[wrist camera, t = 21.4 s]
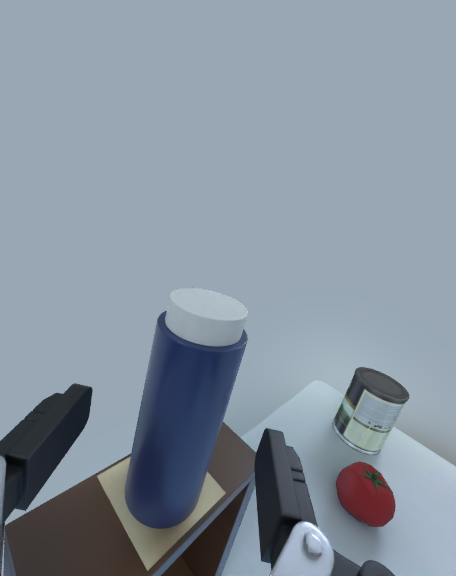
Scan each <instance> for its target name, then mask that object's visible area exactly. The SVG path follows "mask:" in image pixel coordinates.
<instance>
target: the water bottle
mask: <svg viewBox="0 0 456 576" xmlns="http://www.w3.org/2000/svg"><path fill="white" fill-rule="evenodd" d="M247 315H248V311H247V309H246V308H245V306H243V305H242V304H241V303H240V302H238V301H237V300H235V299H233V298H231V297H229V296H226V295H224V294H221V293H218V292H214V291H210V290H205V289H198V288H182V289H177V290H175V291H173V292H172V293H171V294H170V298H169V303H168V308H167V311H165V312H163V313H162V314H161V315H160V316H159V317H158V319H157V325H156V330H155V335H154V340H153V345H152V350H151V355H150V361H149V365H148V371H147V376H146V381H145V386H144V391H143V396H142V402H141V407H140V412H139V417H138V422H137V427H136V432H135V437H134V443H133V448H132V453H131V458H130V463H129V468H128V473H127V478H126V483H125V492H124V493H125V501H126V504H127V507H128V509H129V511H130V513H131V514H132V515H133V517H134V518H135V519H136V520H137V521H139V522H140V523H142V524H143V525H145V526H148V527H151V528H157V529H165V528H170V527H173V526H176V525H178V524H180V523H181V522H183V521H184V520H185V519H187V518H188V517H189V516H190V514H191V513H192V512H193V511H194V509H195V507H196V505H197V503H198V500H199V497H200V494H201V491H202V487H203V484H204V481H205V478H206V474H207V471H208V468H209V464H210V461H211V458H212V455H213V451H214V448H215V445H216V442H217V438H218V435H219V432H220V429H221V425H222V422H223V418H224V415H225V412H226V409H227V406H228V402H229V399H230V396H231V392H232V389H233V386H234V383H235V380H236V376H237V373H238V370H239V366H240V363H241V360H242V356H243V353H244V350H245V347H246V344H247V334H246V332H245V330H244V325H245V322H246V319H247Z"/></svg>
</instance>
